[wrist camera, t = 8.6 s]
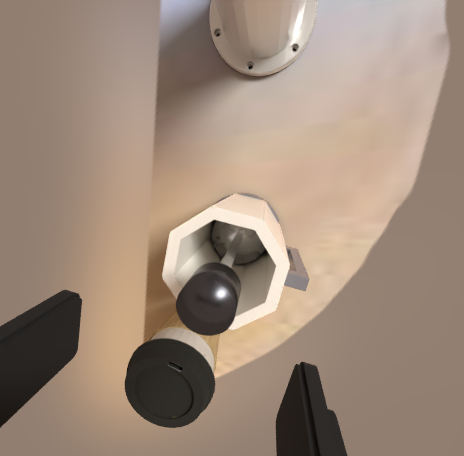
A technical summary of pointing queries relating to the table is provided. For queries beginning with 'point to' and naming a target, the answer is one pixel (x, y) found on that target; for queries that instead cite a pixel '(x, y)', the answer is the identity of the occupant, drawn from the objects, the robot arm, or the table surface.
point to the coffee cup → (172, 375)
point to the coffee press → (250, 274)
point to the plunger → (218, 281)
